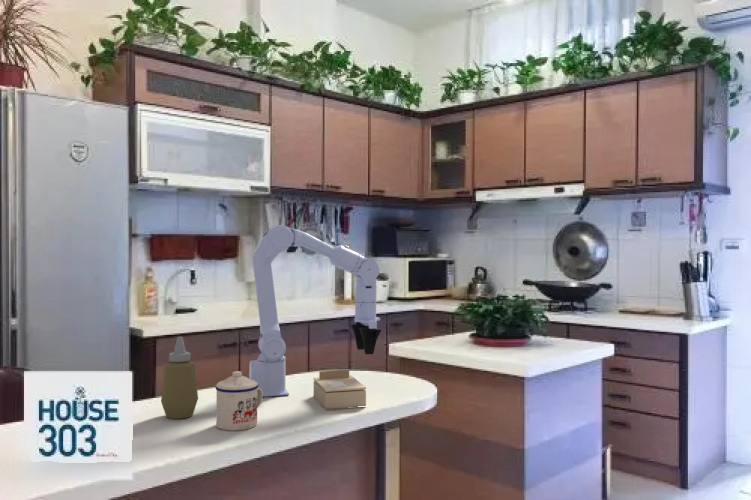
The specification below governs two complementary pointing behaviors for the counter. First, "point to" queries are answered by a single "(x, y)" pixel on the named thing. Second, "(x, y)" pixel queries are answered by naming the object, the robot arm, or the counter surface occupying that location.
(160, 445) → the counter surface
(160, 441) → the counter surface
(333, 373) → the lid
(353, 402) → the box
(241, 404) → the teacup with lid
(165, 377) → the squeeze bottle
